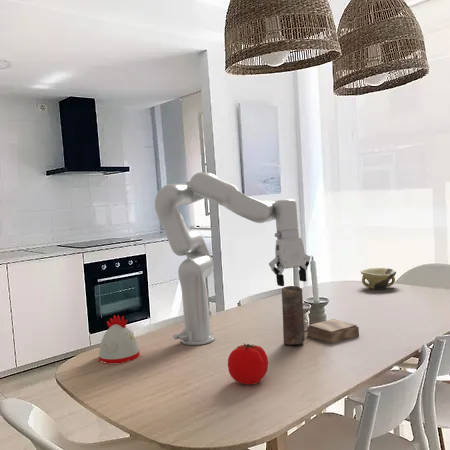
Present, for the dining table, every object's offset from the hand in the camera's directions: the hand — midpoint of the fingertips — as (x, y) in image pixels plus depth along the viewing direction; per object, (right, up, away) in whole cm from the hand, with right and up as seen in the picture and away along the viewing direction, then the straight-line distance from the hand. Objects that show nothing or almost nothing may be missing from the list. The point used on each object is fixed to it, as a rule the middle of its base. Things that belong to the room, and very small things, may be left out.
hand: (292, 283), depth 172 cm
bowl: (+57, -13, +83) cm, 102 cm away
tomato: (-16, -25, -30) cm, 42 cm away
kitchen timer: (-60, -26, +1) cm, 66 cm away
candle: (+1, -22, +2) cm, 22 cm away
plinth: (+16, -20, +8) cm, 27 cm away
